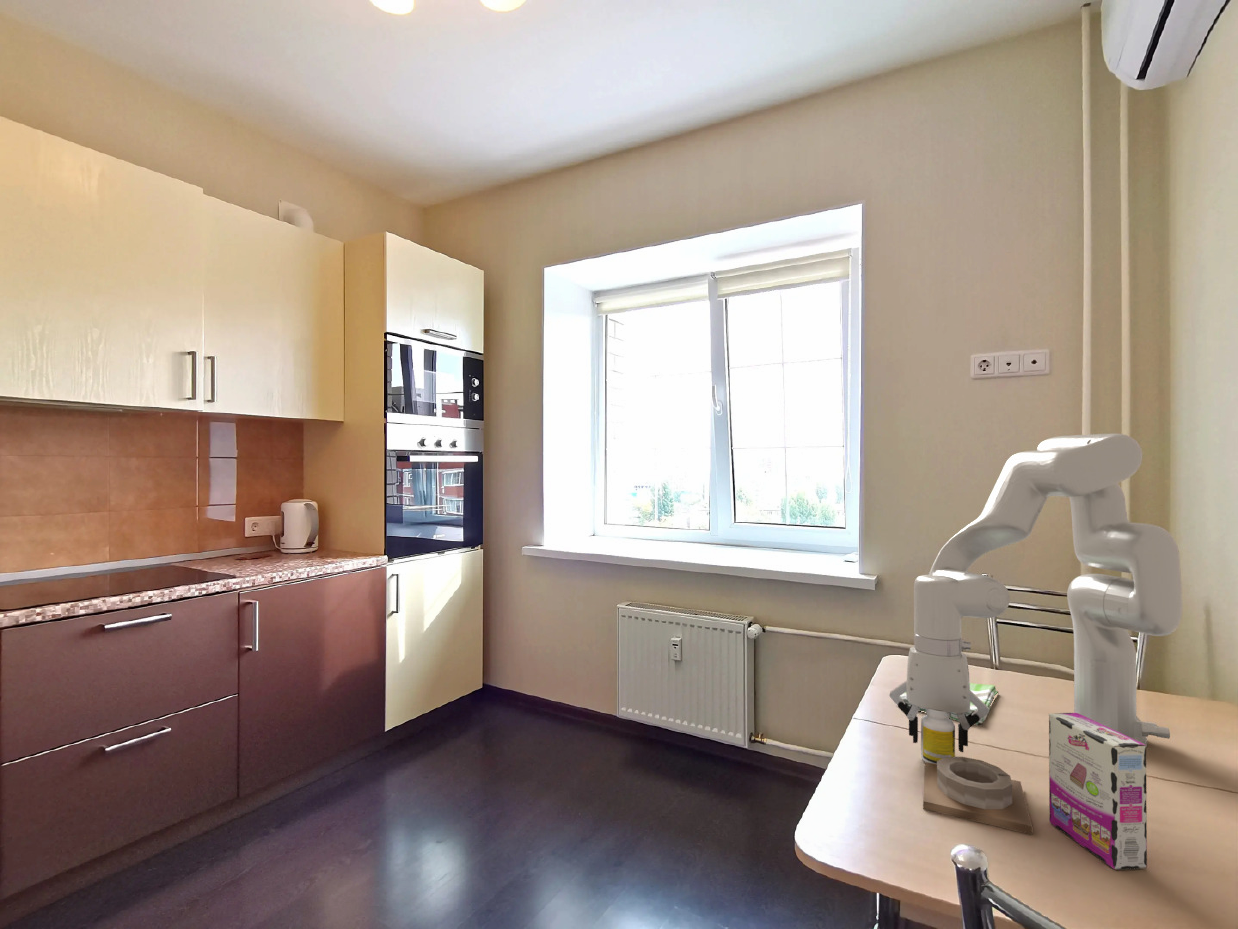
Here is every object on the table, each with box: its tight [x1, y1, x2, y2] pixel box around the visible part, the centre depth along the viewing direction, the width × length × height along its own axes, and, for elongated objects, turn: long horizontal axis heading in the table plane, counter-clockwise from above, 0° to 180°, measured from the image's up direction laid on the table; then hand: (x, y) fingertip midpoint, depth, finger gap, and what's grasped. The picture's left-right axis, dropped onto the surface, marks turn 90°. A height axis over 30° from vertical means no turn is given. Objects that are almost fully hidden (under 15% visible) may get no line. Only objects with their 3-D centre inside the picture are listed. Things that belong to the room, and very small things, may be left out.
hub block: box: [922, 756, 1033, 835], centre depth 96 cm, size 14×14×4 cm
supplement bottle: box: [920, 709, 956, 764], centre depth 108 cm, size 5×5×10 cm
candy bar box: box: [1048, 712, 1148, 871], centre depth 84 cm, size 11×5×16 cm, turn 5°
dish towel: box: [900, 682, 999, 726], centre depth 137 cm, size 17×23×4 cm
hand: (937, 743), depth 108 cm, fingers open, 6 cm apart
